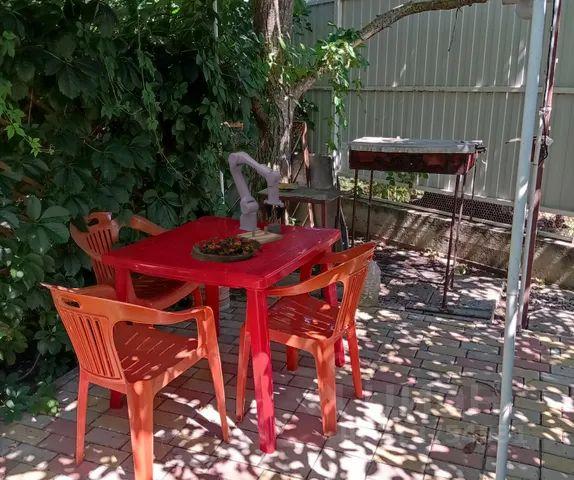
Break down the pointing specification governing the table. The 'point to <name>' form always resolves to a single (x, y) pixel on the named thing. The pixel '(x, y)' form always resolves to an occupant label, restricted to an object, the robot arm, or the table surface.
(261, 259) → the table surface
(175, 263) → the table surface
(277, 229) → the jaw block
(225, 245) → the food dish
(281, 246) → the table surface
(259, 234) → the base plate
